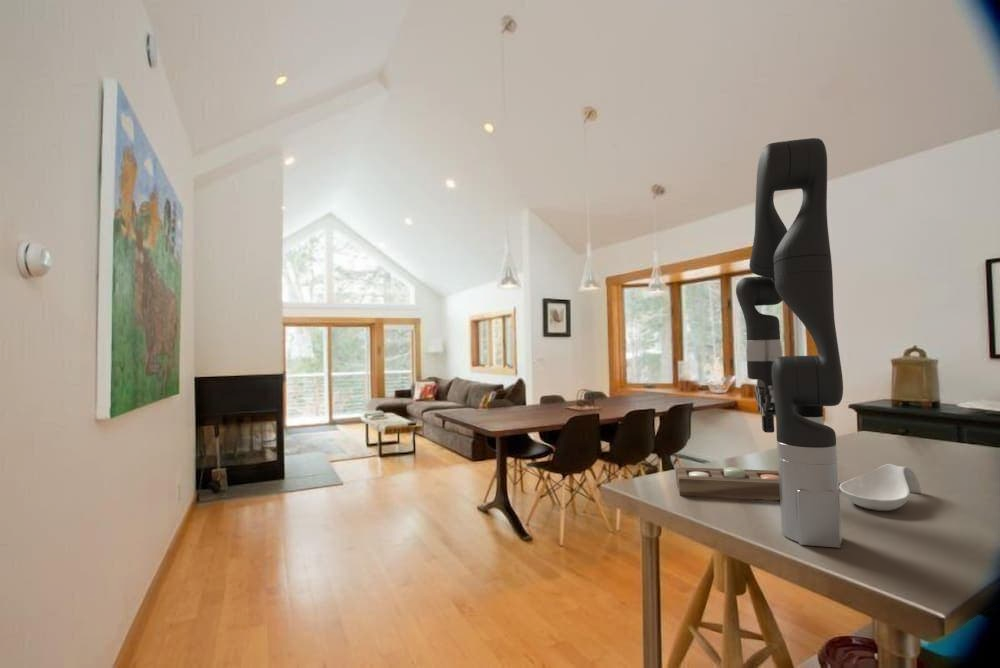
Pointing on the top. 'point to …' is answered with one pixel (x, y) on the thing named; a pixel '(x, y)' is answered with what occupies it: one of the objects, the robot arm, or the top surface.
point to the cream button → (699, 474)
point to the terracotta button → (770, 476)
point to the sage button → (734, 473)
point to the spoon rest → (881, 488)
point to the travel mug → (811, 413)
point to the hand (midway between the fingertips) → (768, 431)
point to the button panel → (727, 484)
